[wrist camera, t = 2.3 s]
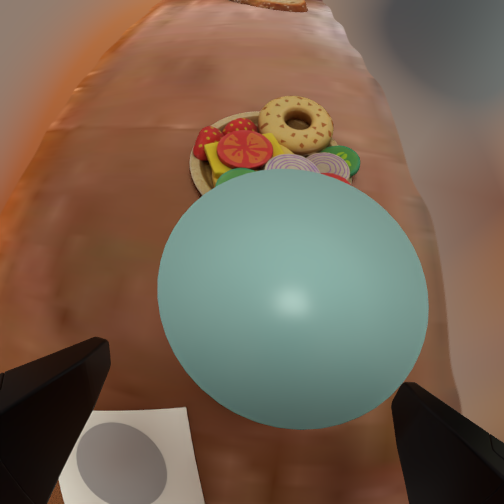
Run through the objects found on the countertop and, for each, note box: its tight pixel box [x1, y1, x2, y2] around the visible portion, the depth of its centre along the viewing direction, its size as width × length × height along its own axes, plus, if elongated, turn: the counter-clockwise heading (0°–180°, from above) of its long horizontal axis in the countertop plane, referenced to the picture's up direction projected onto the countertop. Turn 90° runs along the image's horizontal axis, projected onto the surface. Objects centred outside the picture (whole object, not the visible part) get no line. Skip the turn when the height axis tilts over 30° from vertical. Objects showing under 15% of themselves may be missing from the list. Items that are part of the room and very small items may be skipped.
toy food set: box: [190, 96, 360, 196], centre depth 23 cm, size 13×13×3 cm
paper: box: [59, 407, 205, 504], centre depth 12 cm, size 11×9×1 cm
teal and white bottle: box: [158, 169, 429, 430], centre depth 11 cm, size 4×4×14 cm
